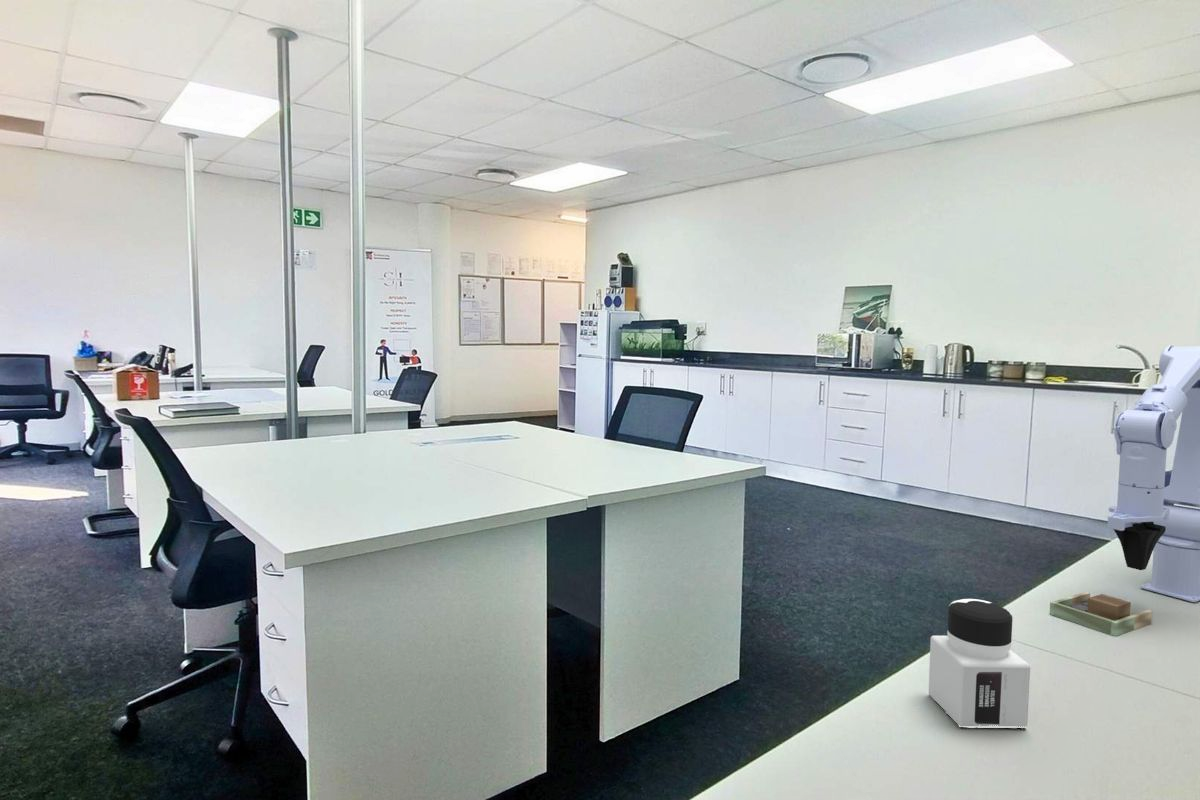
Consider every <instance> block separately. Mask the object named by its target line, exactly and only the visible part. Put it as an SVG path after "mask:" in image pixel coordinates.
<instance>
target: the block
mask: <svg viewBox="0 0 1200 800" xmlns="http://www.w3.org/2000/svg"><path fill="white" fill-rule="evenodd" d="M1131 605H1132V602H1131V601H1127V600H1125V599H1120V598H1117V597H1114V596H1112V595H1111V596H1110V595H1107V594H1103V593H1100V594H1097V595H1094V596H1093V595H1092V596H1090V598H1088V606H1087V612H1088V613H1091V614H1094V615H1097V616H1100V617H1104V618H1107V619H1110V620H1113V621H1116V620H1119V619H1122V618H1125V617H1128V616H1131Z"/></svg>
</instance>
